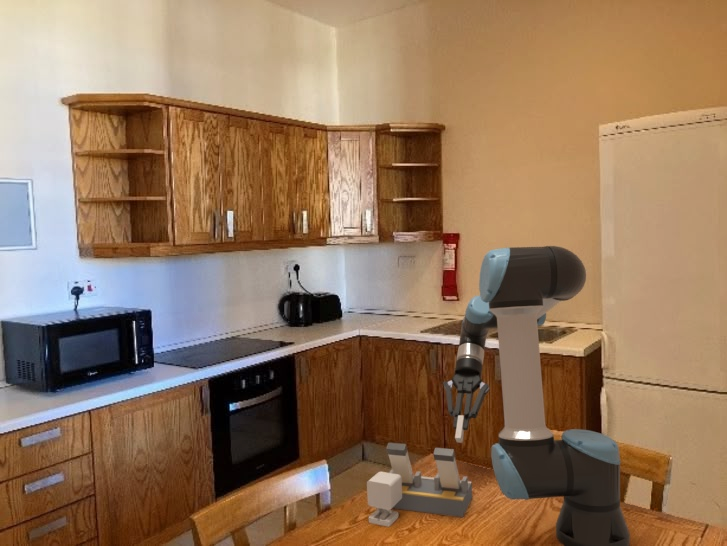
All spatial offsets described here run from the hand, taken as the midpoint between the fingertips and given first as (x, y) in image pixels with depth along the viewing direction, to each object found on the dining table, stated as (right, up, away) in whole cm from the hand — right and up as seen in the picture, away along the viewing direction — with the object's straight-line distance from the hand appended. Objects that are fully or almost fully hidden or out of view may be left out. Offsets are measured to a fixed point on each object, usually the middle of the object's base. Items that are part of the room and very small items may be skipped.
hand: (458, 440), depth 164 cm
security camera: (-20, -15, -13) cm, 28 cm away
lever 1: (-14, -9, -4) cm, 18 cm away
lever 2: (-3, -9, -9) cm, 13 cm away
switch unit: (-9, -14, -6) cm, 18 cm away
